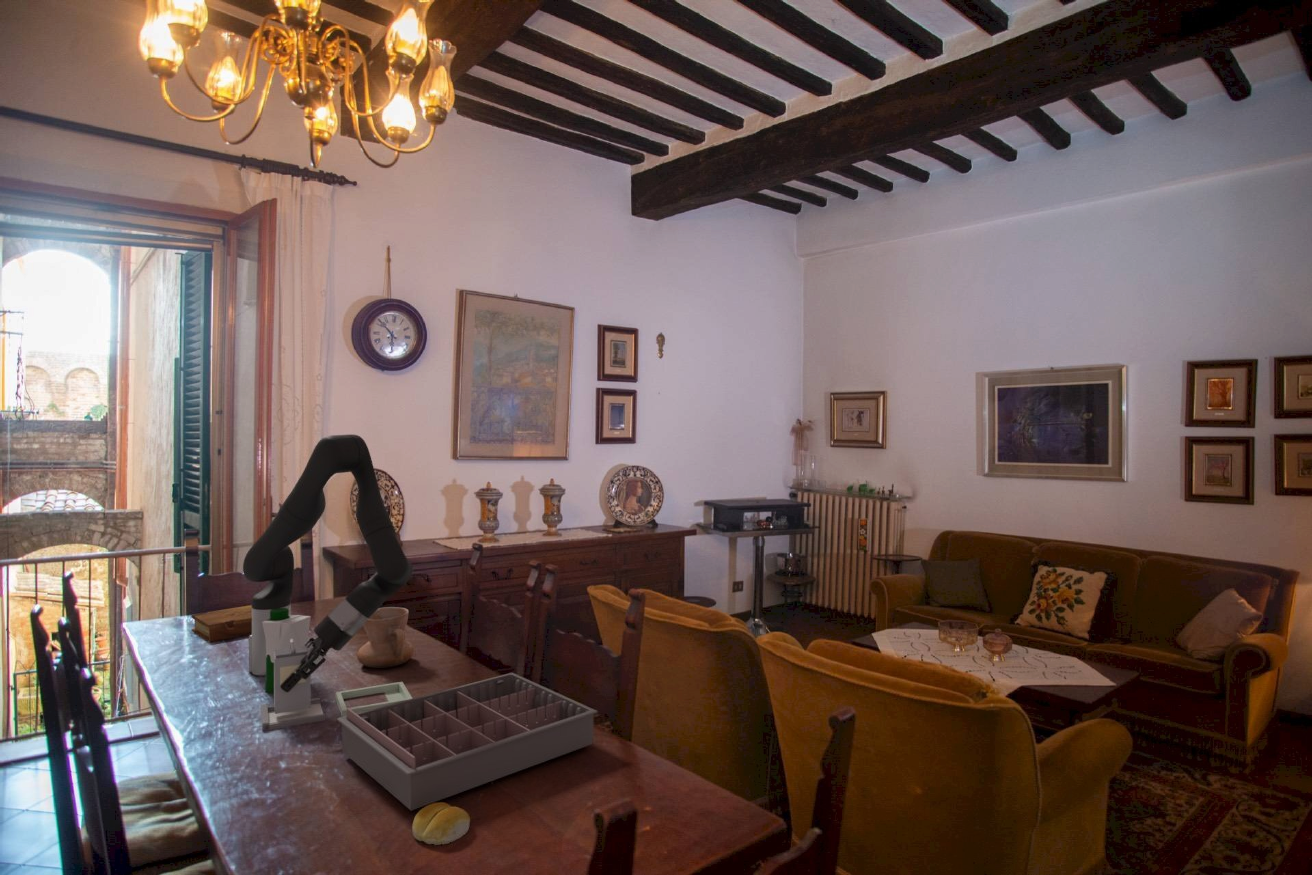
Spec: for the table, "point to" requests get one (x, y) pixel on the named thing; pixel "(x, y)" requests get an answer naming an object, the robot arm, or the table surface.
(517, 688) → the organizer tray
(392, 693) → the tray
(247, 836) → the table surface
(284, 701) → the labeled grey carton
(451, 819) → the bread roll
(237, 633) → the diary
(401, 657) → the ceramic jug
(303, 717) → the bay
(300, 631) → the milk carton
